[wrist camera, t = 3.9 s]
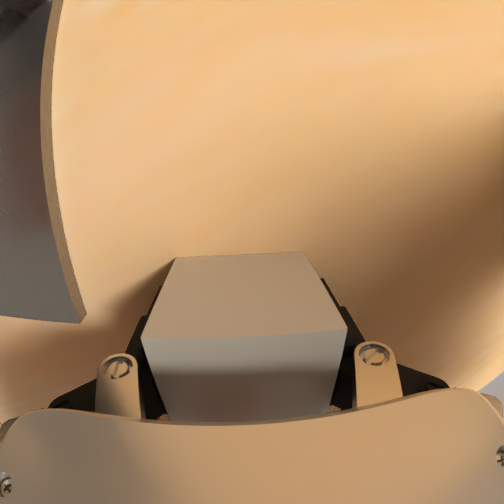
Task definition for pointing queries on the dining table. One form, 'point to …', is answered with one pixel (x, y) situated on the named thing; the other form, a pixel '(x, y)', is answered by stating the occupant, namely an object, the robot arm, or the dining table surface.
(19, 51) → the frame
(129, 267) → the dining table surface
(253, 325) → the light grey cube
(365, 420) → the robot arm
